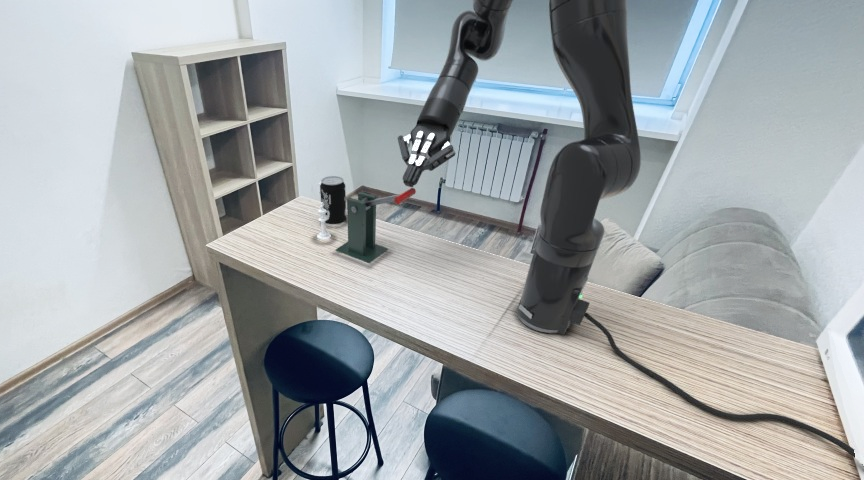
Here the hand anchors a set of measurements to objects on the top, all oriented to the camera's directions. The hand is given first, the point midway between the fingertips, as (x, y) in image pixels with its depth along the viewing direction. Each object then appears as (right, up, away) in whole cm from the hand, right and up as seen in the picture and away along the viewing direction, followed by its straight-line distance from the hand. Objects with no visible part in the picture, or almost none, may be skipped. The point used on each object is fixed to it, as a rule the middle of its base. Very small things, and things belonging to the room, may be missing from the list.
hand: (407, 184), depth 81 cm
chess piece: (-18, -8, +23) cm, 30 cm away
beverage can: (-16, -3, +30) cm, 34 cm away
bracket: (-9, -12, +16) cm, 22 cm away
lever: (-5, -3, +6) cm, 8 cm away
